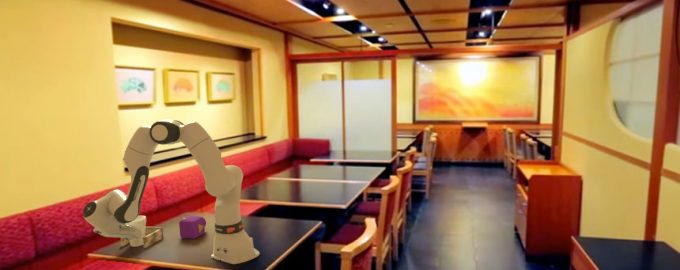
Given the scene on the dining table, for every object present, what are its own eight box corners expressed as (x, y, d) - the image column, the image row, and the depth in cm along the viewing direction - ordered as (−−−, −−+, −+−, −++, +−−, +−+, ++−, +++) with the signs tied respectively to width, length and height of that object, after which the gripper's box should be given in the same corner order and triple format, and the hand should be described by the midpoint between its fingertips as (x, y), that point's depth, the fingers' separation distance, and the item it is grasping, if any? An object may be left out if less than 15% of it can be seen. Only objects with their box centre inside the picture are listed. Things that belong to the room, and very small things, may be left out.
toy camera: (210, 230, 221) (208, 212, 220) (198, 239, 208) (197, 220, 207) (190, 230, 222) (189, 212, 221) (178, 239, 209) (176, 220, 208)
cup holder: (145, 247, 200) (144, 236, 199) (121, 246, 203) (120, 235, 203) (163, 237, 212) (162, 227, 212) (140, 236, 216) (139, 226, 215)
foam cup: (127, 242, 207) (125, 217, 206) (148, 239, 211) (145, 214, 210) (126, 249, 199) (124, 222, 197) (148, 245, 203) (145, 219, 201)
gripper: (134, 220, 188) (150, 233, 199) (96, 218, 193) (115, 231, 204) (128, 233, 184) (145, 246, 195) (90, 230, 189) (108, 243, 200)
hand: (129, 238), depth 199 cm, fingers closed, pressing on foam cup
